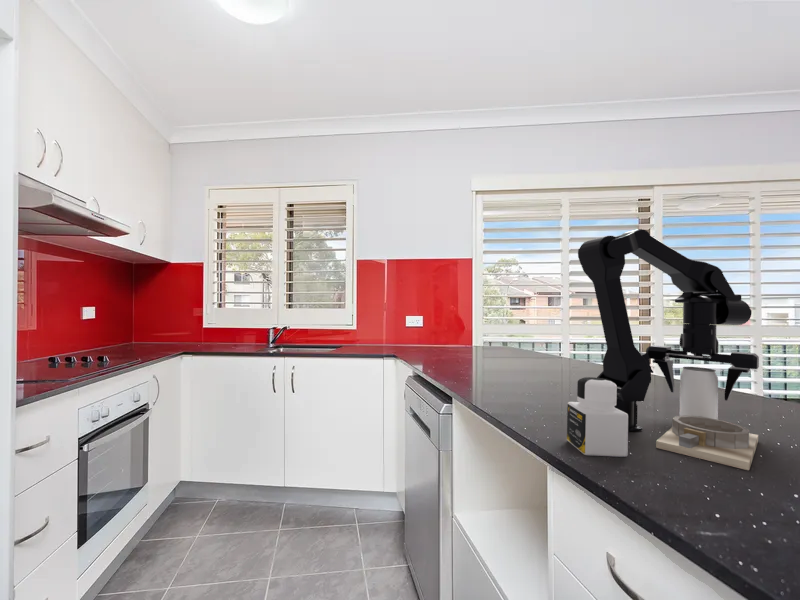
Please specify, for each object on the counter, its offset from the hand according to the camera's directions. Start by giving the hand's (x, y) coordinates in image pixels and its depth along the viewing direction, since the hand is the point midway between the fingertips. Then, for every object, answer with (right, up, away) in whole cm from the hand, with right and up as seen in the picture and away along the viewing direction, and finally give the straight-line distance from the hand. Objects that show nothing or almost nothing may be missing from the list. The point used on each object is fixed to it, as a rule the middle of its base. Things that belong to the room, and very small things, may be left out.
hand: (698, 396), depth 82 cm
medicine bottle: (-31, -5, -17) cm, 36 cm away
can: (0, -6, 0) cm, 6 cm away
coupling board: (-8, -6, -13) cm, 16 cm away
